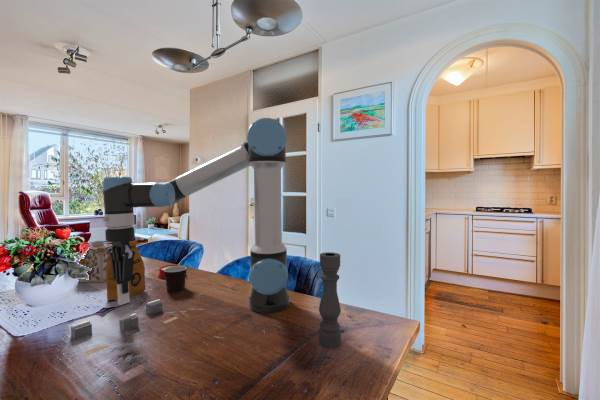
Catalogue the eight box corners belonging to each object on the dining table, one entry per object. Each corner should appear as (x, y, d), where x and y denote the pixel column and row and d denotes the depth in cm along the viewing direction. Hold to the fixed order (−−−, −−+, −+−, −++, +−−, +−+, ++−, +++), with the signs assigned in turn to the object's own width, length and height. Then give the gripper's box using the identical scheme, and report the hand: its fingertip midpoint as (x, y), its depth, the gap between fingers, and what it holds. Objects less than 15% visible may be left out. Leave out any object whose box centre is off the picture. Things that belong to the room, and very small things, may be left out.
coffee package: (149, 292, 116) (148, 240, 116) (122, 304, 105) (120, 246, 104) (131, 289, 120) (130, 238, 119) (102, 300, 108) (101, 244, 107)
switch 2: (138, 326, 85) (138, 314, 85) (124, 331, 82) (123, 319, 82) (133, 323, 87) (133, 312, 87) (119, 328, 84) (119, 317, 84)
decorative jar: (102, 282, 128) (100, 243, 128) (76, 282, 128) (75, 243, 128) (119, 274, 140) (118, 239, 139) (96, 274, 140) (95, 239, 140)
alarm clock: (169, 264, 147) (189, 261, 140) (171, 276, 147) (192, 273, 140) (151, 269, 138) (172, 266, 131) (153, 282, 137) (174, 279, 131)
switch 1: (92, 334, 81) (91, 322, 81) (74, 340, 77) (74, 327, 77) (88, 331, 82) (87, 319, 82) (71, 336, 79) (70, 324, 79)
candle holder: (335, 350, 75) (335, 258, 74) (314, 344, 78) (315, 255, 77) (344, 340, 80) (344, 253, 79) (324, 334, 84) (325, 251, 83)
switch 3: (162, 310, 96) (162, 300, 96) (150, 314, 93) (150, 304, 93) (157, 308, 98) (157, 298, 98) (146, 312, 95) (145, 302, 95)
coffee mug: (181, 296, 112) (181, 272, 112) (160, 296, 112) (159, 272, 112) (193, 286, 124) (193, 264, 123) (173, 286, 124) (173, 264, 123)
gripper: (97, 227, 87) (101, 302, 88) (115, 230, 79) (119, 312, 80) (124, 224, 93) (127, 294, 94) (143, 227, 85) (146, 303, 86)
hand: (123, 302), depth 87 cm, fingers closed
